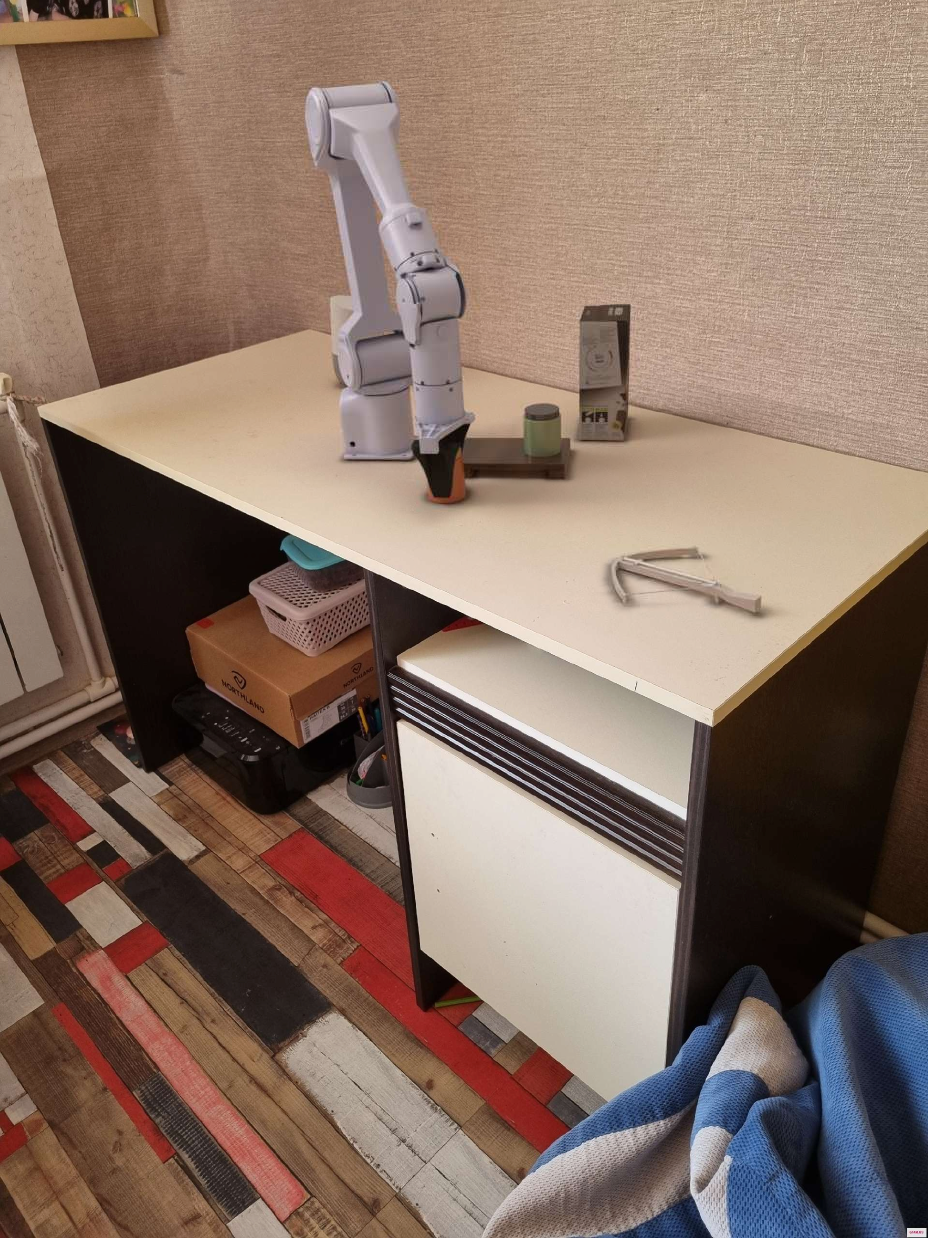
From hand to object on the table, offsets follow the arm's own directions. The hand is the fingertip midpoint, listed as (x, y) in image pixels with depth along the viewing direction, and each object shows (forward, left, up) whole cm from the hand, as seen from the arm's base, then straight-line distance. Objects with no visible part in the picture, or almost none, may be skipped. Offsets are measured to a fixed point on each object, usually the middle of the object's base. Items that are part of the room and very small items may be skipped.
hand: (446, 487), depth 116 cm
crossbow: (+28, -21, -1) cm, 35 cm away
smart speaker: (-23, +45, -1) cm, 51 cm away
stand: (+7, +10, -1) cm, 12 cm away
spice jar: (0, 0, -1) cm, 1 cm away
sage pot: (+11, +10, +1) cm, 15 cm away
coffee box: (+18, +23, -1) cm, 29 cm away
